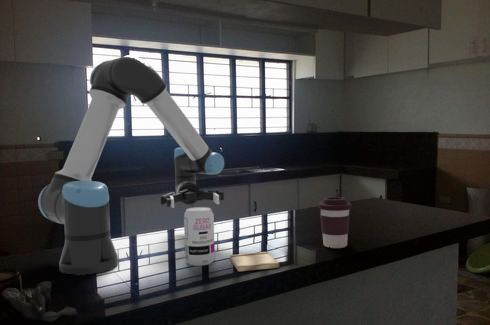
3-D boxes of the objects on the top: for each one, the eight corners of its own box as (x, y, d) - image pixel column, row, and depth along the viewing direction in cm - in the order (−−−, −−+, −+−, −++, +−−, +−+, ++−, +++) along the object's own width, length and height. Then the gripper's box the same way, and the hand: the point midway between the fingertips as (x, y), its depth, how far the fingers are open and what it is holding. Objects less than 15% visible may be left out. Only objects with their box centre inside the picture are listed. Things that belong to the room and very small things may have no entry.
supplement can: (200, 256, 123) (198, 205, 122) (220, 261, 117) (219, 208, 117) (179, 263, 116) (177, 210, 116) (200, 268, 111) (198, 212, 110)
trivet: (238, 271, 108) (238, 266, 108) (230, 259, 118) (230, 255, 118) (279, 267, 110) (279, 262, 110) (267, 256, 121) (267, 251, 121)
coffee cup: (336, 240, 137) (335, 195, 137) (358, 246, 129) (357, 198, 128) (312, 244, 132) (311, 198, 132) (334, 251, 124) (333, 201, 123)
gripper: (224, 200, 150) (236, 210, 129) (152, 205, 144) (154, 217, 123) (223, 179, 149) (235, 186, 128) (151, 184, 143) (152, 192, 123)
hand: (195, 201), depth 126 cm, fingers open, 13 cm apart
